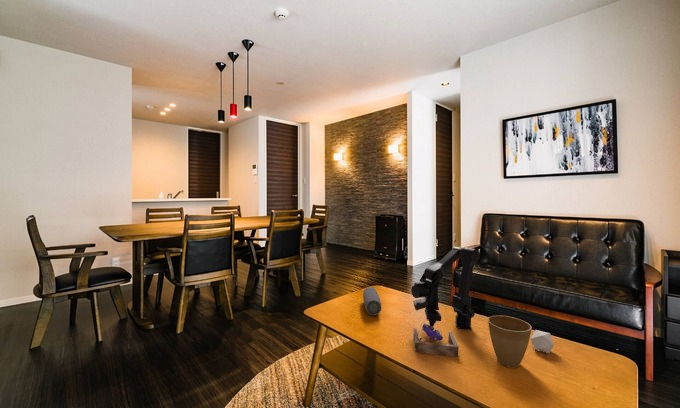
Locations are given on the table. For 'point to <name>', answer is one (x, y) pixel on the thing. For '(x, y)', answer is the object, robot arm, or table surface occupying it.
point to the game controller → (431, 332)
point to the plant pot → (509, 339)
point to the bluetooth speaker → (372, 301)
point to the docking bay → (436, 346)
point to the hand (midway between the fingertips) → (431, 327)
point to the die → (542, 341)
